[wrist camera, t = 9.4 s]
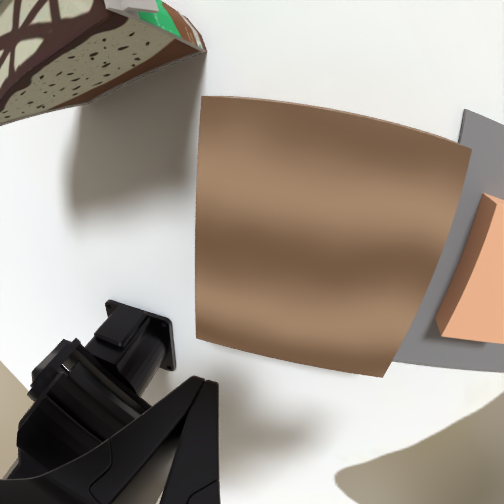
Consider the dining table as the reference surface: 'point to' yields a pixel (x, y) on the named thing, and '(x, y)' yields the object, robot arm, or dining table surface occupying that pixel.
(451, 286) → the peach block
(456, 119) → the dining table surface
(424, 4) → the dining table surface
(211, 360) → the dining table surface
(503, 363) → the mat
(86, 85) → the food container
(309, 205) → the brown flat block
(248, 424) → the dining table surface
